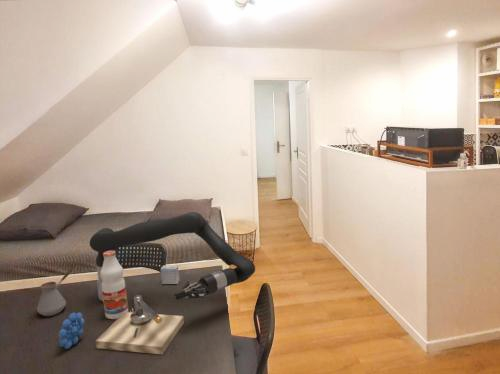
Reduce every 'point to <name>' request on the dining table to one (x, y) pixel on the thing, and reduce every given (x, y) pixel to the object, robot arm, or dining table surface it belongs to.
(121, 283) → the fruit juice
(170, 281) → the medicine box
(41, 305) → the coffee pot
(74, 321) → the grapes
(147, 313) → the metal faucet
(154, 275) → the dining table surface
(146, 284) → the dining table surface
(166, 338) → the stand
